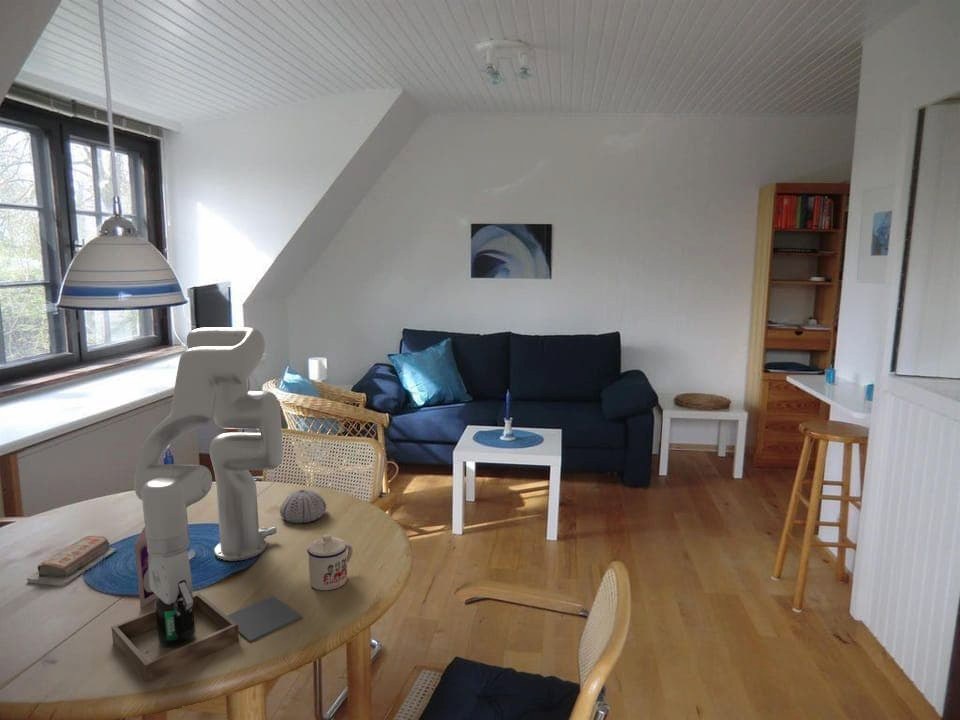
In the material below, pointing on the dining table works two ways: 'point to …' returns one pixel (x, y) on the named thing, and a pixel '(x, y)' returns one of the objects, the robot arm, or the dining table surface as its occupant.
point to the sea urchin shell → (302, 506)
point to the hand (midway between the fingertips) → (175, 622)
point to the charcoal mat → (263, 618)
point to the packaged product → (71, 561)
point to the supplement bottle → (170, 624)
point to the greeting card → (143, 570)
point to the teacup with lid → (328, 562)
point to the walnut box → (181, 655)
